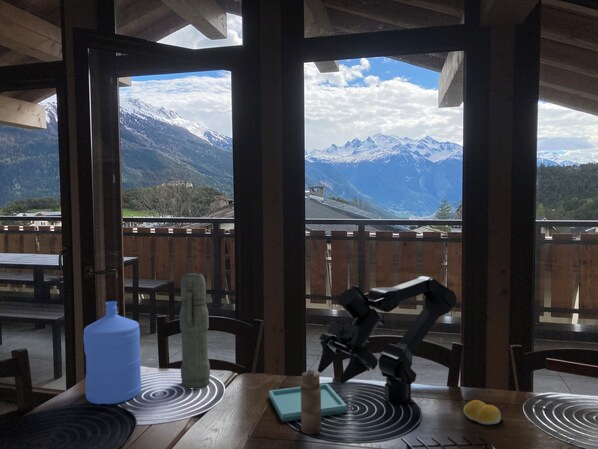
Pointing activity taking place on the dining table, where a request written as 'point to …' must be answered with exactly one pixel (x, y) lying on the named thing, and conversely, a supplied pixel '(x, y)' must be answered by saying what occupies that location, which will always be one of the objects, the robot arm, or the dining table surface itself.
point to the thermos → (194, 332)
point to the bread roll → (482, 412)
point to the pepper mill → (310, 402)
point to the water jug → (112, 358)
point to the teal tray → (290, 402)
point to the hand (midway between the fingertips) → (329, 377)
